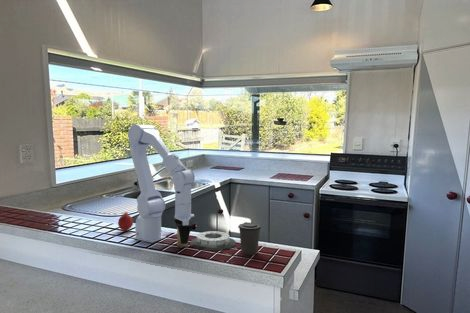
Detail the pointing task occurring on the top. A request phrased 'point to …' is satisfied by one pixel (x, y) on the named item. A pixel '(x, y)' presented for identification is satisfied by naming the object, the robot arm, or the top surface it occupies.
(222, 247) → the rosette
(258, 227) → the coffee cup
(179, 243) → the peg
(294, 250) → the top surface
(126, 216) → the onion
